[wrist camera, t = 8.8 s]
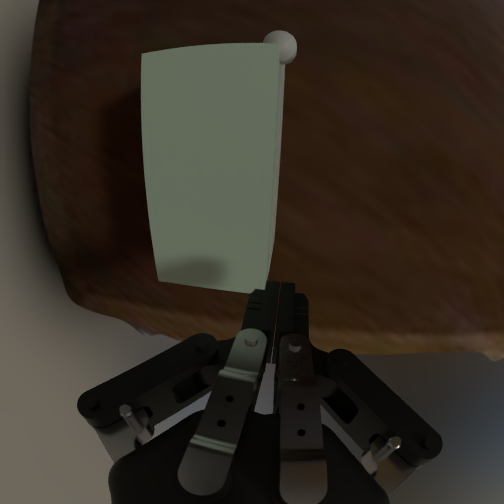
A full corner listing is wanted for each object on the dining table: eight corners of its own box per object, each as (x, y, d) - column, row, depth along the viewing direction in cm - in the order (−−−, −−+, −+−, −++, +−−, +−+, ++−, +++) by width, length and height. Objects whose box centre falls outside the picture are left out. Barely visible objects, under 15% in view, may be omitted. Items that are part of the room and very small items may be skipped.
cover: (160, 46, 14) (142, 41, 12) (296, 40, 13) (297, 30, 11) (170, 263, 23) (158, 280, 20) (279, 276, 22) (277, 296, 19)
